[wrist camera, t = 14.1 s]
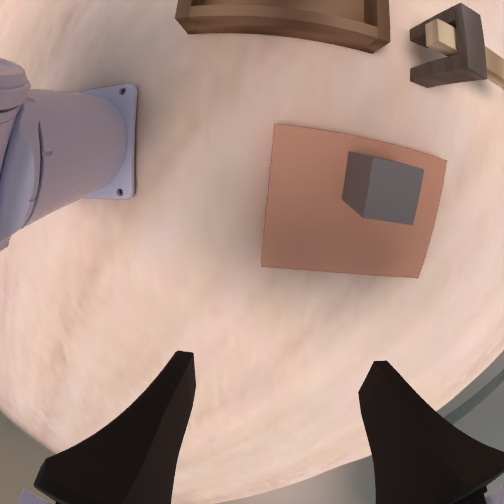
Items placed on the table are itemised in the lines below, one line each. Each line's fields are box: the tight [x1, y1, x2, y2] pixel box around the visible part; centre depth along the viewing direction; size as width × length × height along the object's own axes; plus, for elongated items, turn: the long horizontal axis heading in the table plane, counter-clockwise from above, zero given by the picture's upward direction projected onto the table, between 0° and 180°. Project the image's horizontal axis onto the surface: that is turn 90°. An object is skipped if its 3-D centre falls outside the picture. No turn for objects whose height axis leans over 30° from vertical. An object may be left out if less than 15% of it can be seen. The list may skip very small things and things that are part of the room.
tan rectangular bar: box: [425, 19, 504, 89], centre depth 9 cm, size 8×2×1 cm, turn 85°
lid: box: [261, 124, 447, 278], centre depth 16 cm, size 12×9×6 cm
